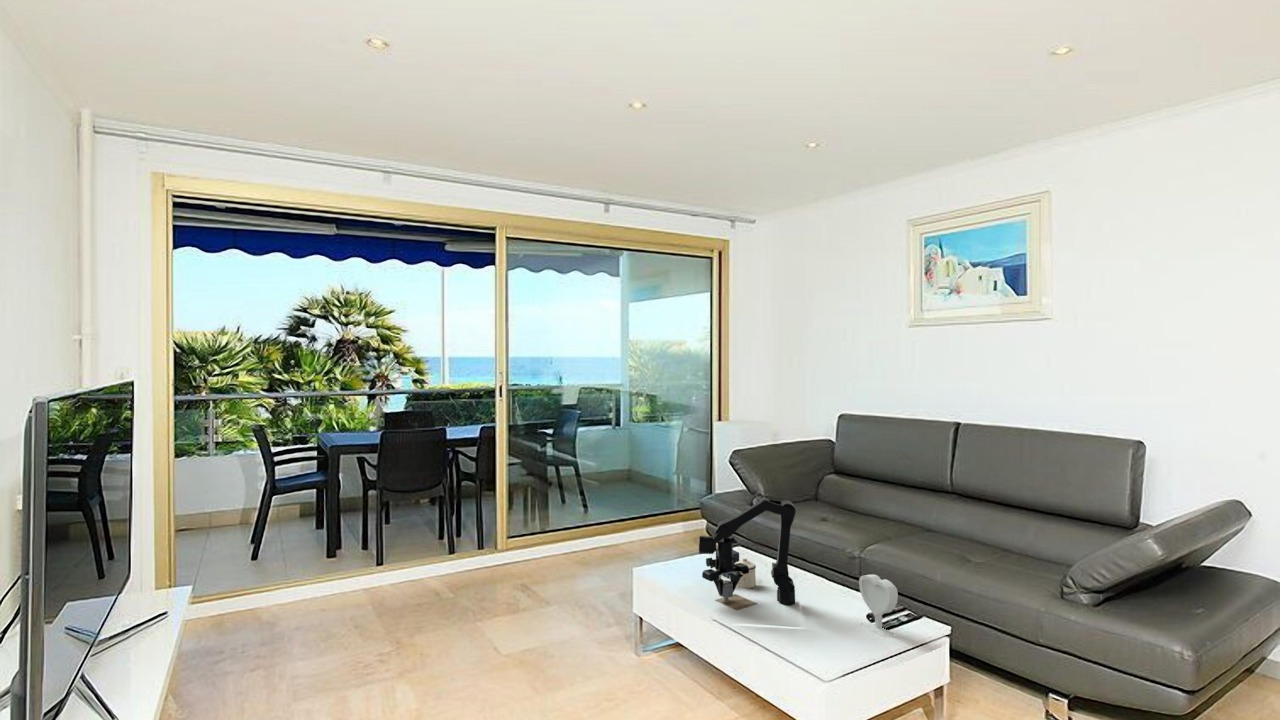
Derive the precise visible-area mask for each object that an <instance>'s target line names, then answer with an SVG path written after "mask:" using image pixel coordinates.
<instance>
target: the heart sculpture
mask: <svg viewBox="0 0 1280 720" xmlns="http://www.w3.org/2000/svg"><path fill="white" fill-rule="evenodd" d="M858 583H859V584H858V586H859V592H860V594H861V597H862V600H863V601H864V603H865V604H866V606H867V607H868V609H869V610H870V611H871V613H872V615H873V616H874V623H875V624H872V623H867V622H863V623H862V624H861V626H864V628H867V629H868V630H871V631H873V632H874V633H876V634H878V635H879V636H882V637H883V638H894V637H895V636H897V634H896V633H894V632H892V631H890V630H888V629H887V630H886V628H885V627H883V614H886V613H889V612H891V611H893V610H894V609H895V607H896V606H897V604H898V599H899V598H898V596H899V594H898V588H897V587H896V585H894V584H893V582H892V581H890V580H888V579H881V577H880V576H879V575H877V574H866V575H861V576H860V577H859V580H858ZM882 627H883V628H882ZM884 628H885V629H884ZM894 635H895V636H894Z"/></svg>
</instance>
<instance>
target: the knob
mask: <svg viewBox="0 0 1280 720" xmlns="http://www.w3.org/2000/svg"><path fill="white" fill-rule="evenodd" d="M733 595H734V592H733V582H731V581H730V580H723V589H722V595H719V594H718V596H719V597H720V598H724V597H732V596H733Z"/></svg>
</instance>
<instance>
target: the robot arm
mask: <svg viewBox="0 0 1280 720" xmlns="http://www.w3.org/2000/svg"><path fill="white" fill-rule="evenodd" d="M764 512H771V513H773V514H777V515H779V522H780V527H779V538H778V547H777V556H776V562H771V571H770V574H771V578H772V579H773V582H774V584H775V586H777V589H776V598H777V600H776V601H777V602H778V603H779V604H780V605H784V606H788V607H789V606H793V605H795V604H796V589H795V588H796V586H795V584H794V580H793V578H791V577H790V575H789V566H788V559H789V549H790V540H791V539H790V537H791V528H792V524H793V522H794V521H795V516H796V507H795V505H794V504H793V502H792V501H790V500H783V501H781V500H777V499H769V498H766V497H763V498H762V499H760V500H759V501H758V502H756V503H754V504H753V505H751V506H749V507H748V508H746V509H745V510H743V511H742V512H739V513H738V514H737V515H735V516H731V517H728V518H725V519H722V520H720V521H719V523H718V524H717V529H716V531H714V533H713V534H712V535H710V536H709V535H708V536H707V535H699V543H698V553H699V554H701V555H714V554H716V549H718V555H717V556H716V555H715V559H713V558H712V557H708V558H705V565H706V567H709V568H710V569H705V570H703V571H702V572H701V573H702V575H701V577H702V578H703V579H705V580H706V581H709V582H713V583H714V585H715V587H716V590H717V593H718V596H719V595H722V589H723V581H724V579H723V578H722V576H723V575H725V574H729V575H730V578H729V581H731V582H733V593H734V592H735V590H736V588H737V584H738V582H739V580H740V578H741V577H743V575H742V574H747V573H749V568H748V566H747V565H745V564H742V563H737V564H733V560H735V557H733V550H734V549H733V548H734V547H733V546H734V545H733V544H738V539H737V538H736V537H735V536H734V535H735V533H736V532H737V531H738V530H739V529H740V528H741V527H742V526H743V525H745V524H747V523H748V522H749V521H751V520H753V519H755V518H756V517H758V516H760V515H761V514H763V513H764ZM713 568H714V569H713ZM716 569H718V570H719V571H716ZM741 573H742V574H741Z"/></svg>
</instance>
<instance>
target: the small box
mask: <svg viewBox="0 0 1280 720" xmlns="http://www.w3.org/2000/svg"><path fill="white" fill-rule="evenodd" d="M717 555H718V548H716V551H715V557H716V556H717ZM733 557H735V560H733V564H735V563H736V562H739V561H740V552H738V551H736V550H735V549H733ZM715 571H719V570H718V569H715ZM722 577H725V578H727V579H730V577H729V574H725V575H722Z"/></svg>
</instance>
